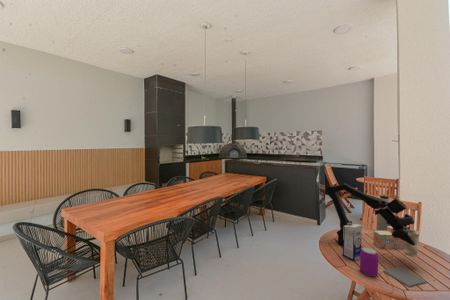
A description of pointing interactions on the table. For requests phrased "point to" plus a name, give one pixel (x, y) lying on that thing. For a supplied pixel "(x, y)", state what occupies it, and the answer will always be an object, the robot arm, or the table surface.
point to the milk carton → (352, 241)
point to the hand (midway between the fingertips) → (415, 243)
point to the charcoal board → (404, 276)
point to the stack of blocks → (387, 240)
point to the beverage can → (369, 261)
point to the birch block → (411, 249)
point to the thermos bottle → (380, 220)
